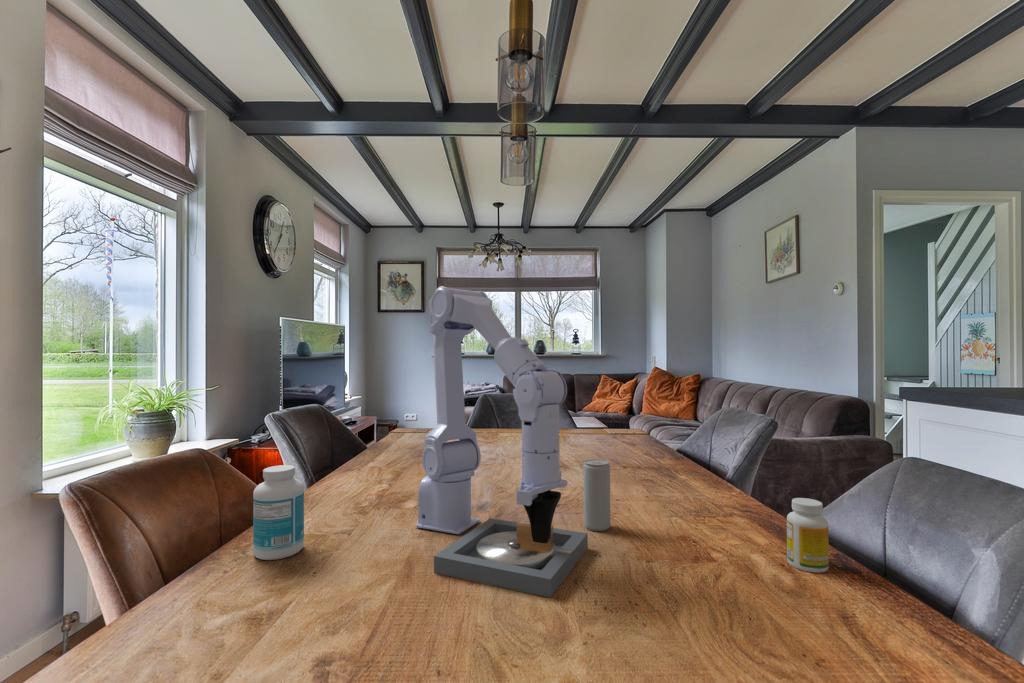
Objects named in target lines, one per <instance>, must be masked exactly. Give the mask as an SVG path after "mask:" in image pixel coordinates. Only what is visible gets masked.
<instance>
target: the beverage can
mask: <svg viewBox="0 0 1024 683" xmlns="http://www.w3.org/2000/svg"><path fill="white" fill-rule="evenodd" d="M583 463H584V464H583V525H584V527H585V528H586V529H587V530H589V531H592V532H606V531H607V530H609V529H610V528H611V466H610V461H608V460H605V459H596V458H595V459H592V458H591V459H586V460H584V462H583Z"/></svg>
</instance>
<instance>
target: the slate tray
mask: <svg viewBox="0 0 1024 683" xmlns="http://www.w3.org/2000/svg"><path fill="white" fill-rule="evenodd" d="M518 523H519V521H518V522H516V521H512V520H511V521H510V520H502V519H497V518H490V517H489V518H488V519H487V520H485V521H484V522H482V523H481V524H479V525H478V526H477V527H475V528H473V529H472V530H470V531H469V532H467V533H466V534H464V535H463V536H461V537H460V538H458V539H457V540H456V541H455V542H452V543H451V544H450V545H448V546H446V547H445V548H443V549H442V550H441V551H439V552H438V553H436V554H435V555H434V556H433V573H435V574H438V575H442V576H447V577H453V578H457V579H462V580H466V581H470V582H475V583H481V584H485V585H489V586H493V587H498V588H503V589H507V590H508V589H509V590H512V591H515V592H516V591H517V592H521V593H526V594H530V595H535V596H540V597H545V598H549V599H550V598H552V597H553V595H554V594H555V593H556V592H557V590H558V589H559V587H560V586H561V585H562V584H563V582H564V580H565V579H566V578H567V577H568V575H569V574H570V573H571V571H572V570H573V568H574V567H575V566H576V565H577V563H578V561H579V560H580V559H581V558H582V556H583V555H584V554H585V552H586V551H587V550H588V548H589V547H588V545H589V542H588V539H589V538H588V532H582V531H577V530H575V531H574V530H568V529H562V528H557V527H553V544H554V557H553V558H552V559H551V560H550V561H549V562H548V564H547V565H546V566H544V567H541V568H538V569H532V568H527V567H522V566H517V565H511V564H506V563H501V562H496V561H491V560H486V559H480V558H477V543H478V542H479V541H480V540H481V539H482V538H484V537H486V536H489V535H492V534H495V533H500V532H509V531H517V524H518Z"/></svg>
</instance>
